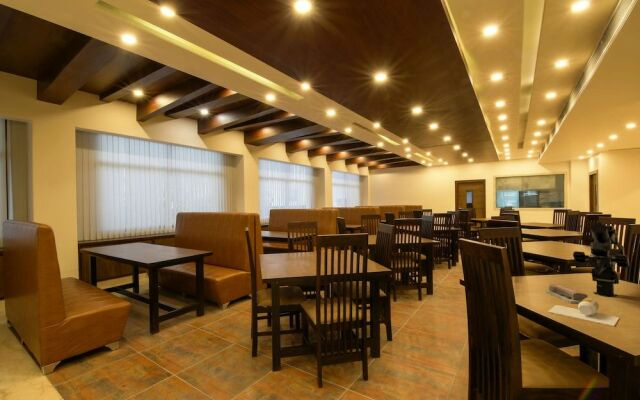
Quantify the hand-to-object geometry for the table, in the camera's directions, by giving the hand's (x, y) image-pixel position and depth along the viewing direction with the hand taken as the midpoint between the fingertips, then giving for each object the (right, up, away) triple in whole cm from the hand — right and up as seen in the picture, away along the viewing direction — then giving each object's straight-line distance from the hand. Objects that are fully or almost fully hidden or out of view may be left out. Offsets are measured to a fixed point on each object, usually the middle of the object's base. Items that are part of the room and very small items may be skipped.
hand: (597, 273), depth 137 cm
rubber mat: (-20, -13, -15) cm, 29 cm away
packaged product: (-8, -14, +7) cm, 17 cm away
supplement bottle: (-14, -10, -12) cm, 21 cm away
